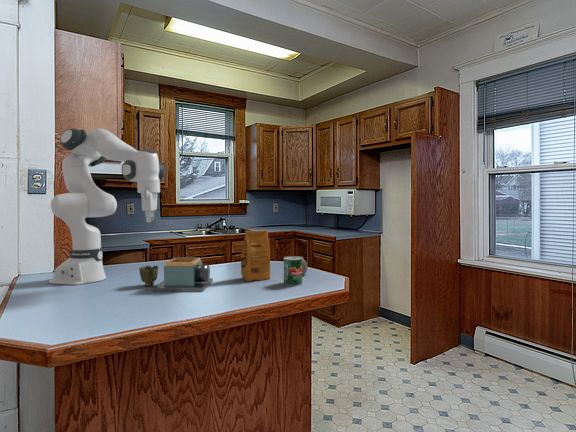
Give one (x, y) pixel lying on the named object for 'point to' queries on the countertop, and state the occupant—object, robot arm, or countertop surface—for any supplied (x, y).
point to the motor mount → (184, 276)
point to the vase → (303, 266)
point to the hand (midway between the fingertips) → (150, 221)
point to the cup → (149, 274)
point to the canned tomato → (292, 271)
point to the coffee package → (255, 256)
